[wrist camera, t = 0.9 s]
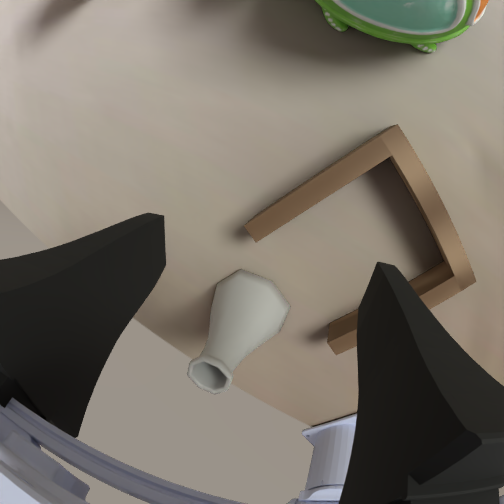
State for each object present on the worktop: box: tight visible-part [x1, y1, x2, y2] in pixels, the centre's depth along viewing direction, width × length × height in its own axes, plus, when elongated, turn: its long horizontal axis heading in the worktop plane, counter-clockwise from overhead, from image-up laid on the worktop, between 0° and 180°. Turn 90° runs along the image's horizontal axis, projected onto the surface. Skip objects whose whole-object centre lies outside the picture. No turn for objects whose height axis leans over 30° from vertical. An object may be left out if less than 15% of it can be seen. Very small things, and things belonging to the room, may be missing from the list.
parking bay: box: [244, 124, 476, 355], centre depth 23 cm, size 13×13×3 cm
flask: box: [187, 269, 290, 394], centre depth 24 cm, size 7×7×10 cm
